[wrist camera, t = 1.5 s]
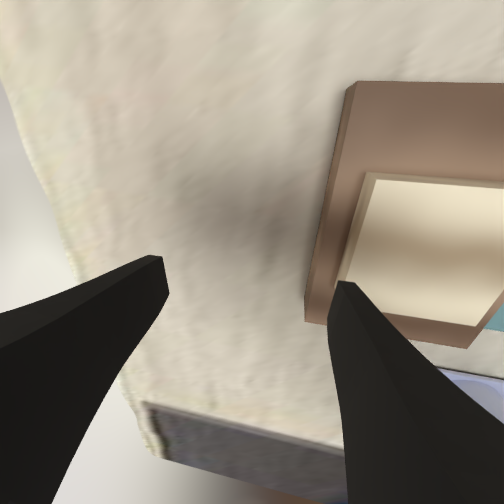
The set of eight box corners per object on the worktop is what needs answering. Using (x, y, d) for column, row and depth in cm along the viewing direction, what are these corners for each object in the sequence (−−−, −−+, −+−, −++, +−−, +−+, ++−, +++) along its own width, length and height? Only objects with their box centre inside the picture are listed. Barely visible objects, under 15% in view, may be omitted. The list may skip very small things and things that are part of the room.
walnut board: (445, 319, 20) (466, 348, 17) (304, 297, 21) (304, 321, 19) (592, 94, 11) (675, 86, 9) (346, 88, 13) (357, 80, 11)
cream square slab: (456, 303, 15) (475, 326, 14) (334, 286, 16) (337, 305, 15) (534, 184, 11) (576, 194, 10) (366, 171, 12) (376, 179, 11)
